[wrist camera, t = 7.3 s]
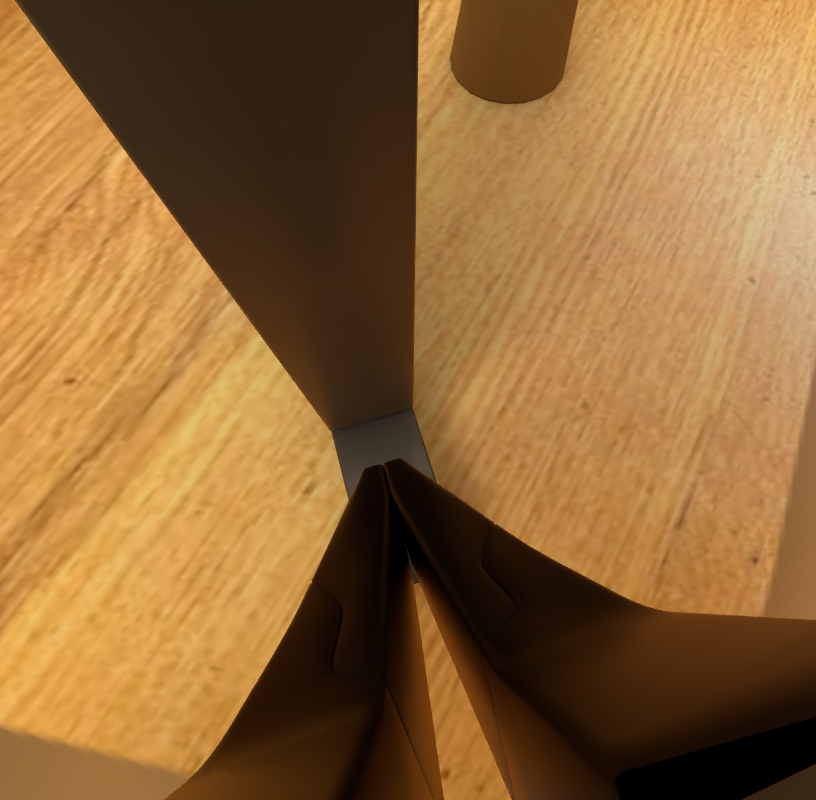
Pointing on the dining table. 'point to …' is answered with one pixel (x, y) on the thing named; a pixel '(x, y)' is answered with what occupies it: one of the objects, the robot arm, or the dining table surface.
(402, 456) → the wooden frame stand
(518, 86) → the wooden game pawn
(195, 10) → the door
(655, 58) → the dining table surface
